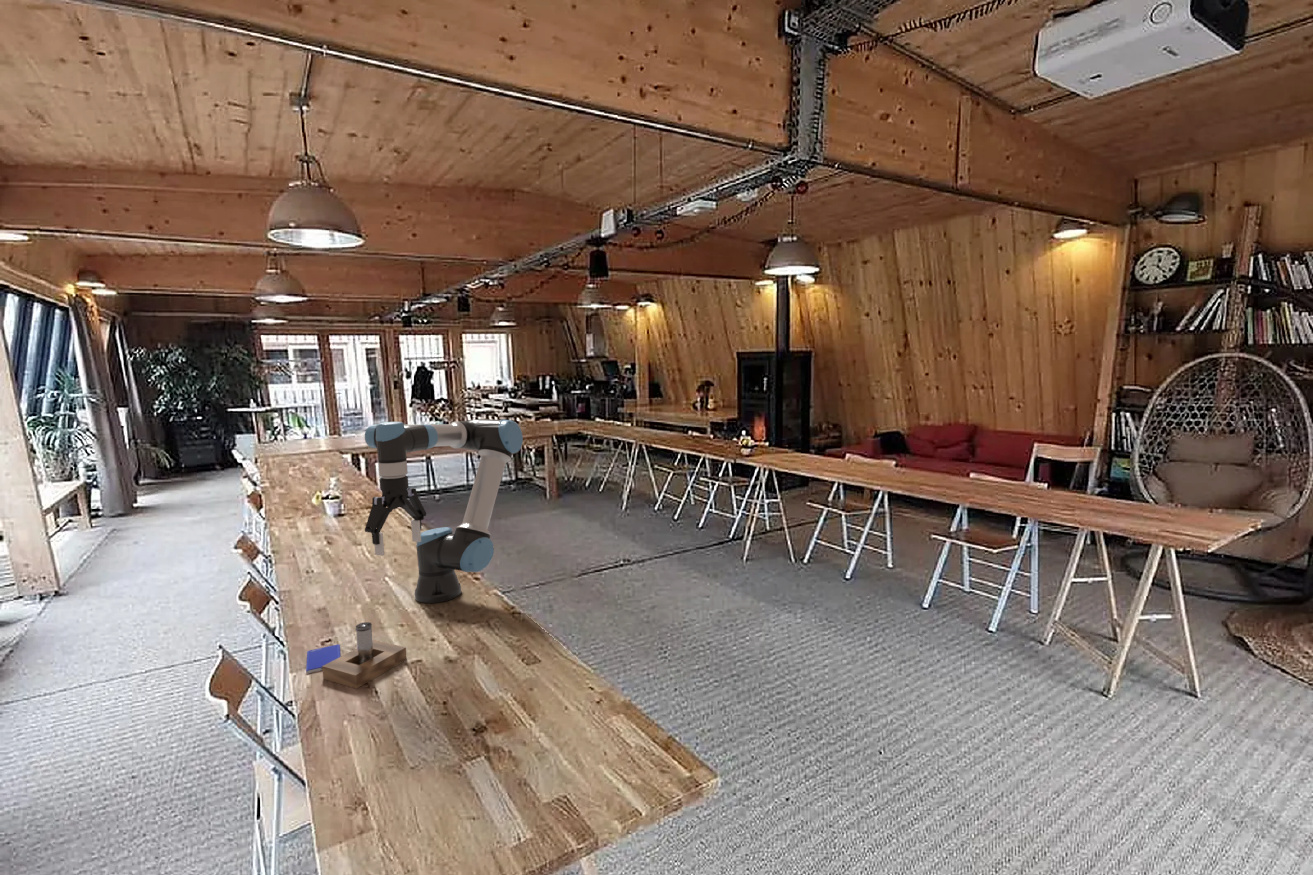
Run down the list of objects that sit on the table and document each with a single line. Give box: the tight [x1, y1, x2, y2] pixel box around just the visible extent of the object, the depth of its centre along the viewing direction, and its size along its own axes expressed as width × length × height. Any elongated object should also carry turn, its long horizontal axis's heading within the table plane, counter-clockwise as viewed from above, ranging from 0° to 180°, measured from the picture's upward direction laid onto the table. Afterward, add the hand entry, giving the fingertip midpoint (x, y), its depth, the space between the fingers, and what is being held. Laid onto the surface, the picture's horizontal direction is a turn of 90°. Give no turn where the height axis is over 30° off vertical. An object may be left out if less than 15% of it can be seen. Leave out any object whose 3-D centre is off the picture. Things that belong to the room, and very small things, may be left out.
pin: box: [355, 621, 373, 665], centre depth 161 cm, size 4×4×12 cm
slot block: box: [321, 639, 408, 689], centre depth 162 cm, size 16×12×4 cm
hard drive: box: [305, 643, 342, 674], centre depth 167 cm, size 2×8×12 cm
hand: (398, 548), depth 178 cm, fingers open, 13 cm apart
